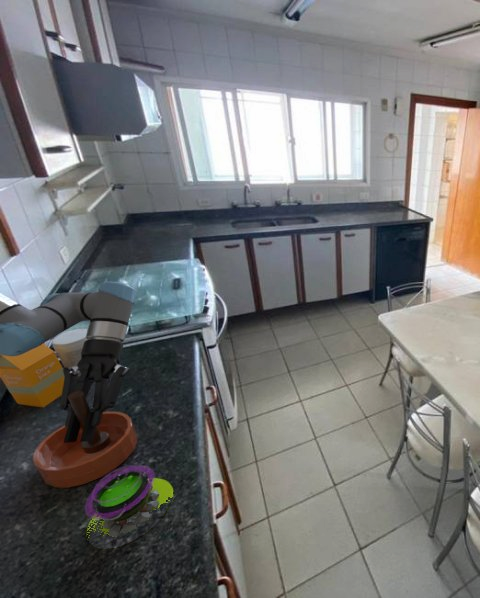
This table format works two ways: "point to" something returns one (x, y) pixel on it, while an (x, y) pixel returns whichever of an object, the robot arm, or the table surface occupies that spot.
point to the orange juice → (33, 376)
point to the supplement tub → (70, 347)
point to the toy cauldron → (127, 499)
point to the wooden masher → (81, 410)
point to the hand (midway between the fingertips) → (78, 441)
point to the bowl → (79, 465)
